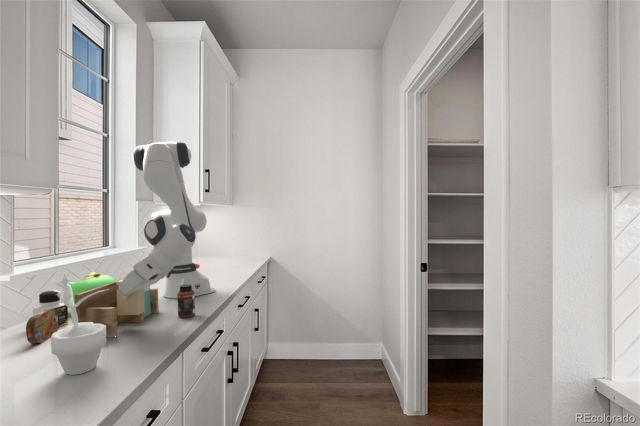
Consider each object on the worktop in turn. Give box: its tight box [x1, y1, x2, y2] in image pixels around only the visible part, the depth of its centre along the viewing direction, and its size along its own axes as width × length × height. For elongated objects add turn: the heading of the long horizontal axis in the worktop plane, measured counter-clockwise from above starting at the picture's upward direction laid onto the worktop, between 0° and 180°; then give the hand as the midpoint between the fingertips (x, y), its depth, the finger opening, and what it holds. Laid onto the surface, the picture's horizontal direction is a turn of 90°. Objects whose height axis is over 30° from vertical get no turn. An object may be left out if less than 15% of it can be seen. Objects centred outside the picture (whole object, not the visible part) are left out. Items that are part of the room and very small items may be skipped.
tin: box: [25, 308, 60, 345], centre depth 114 cm, size 15×3×8 cm, turn 12°
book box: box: [116, 278, 145, 315], centre depth 122 cm, size 7×4×11 cm, turn 87°
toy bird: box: [58, 271, 117, 305], centre depth 147 cm, size 18×17×15 cm
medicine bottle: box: [32, 289, 69, 327], centre depth 127 cm, size 7×7×12 cm
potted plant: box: [50, 273, 110, 376], centre depth 91 cm, size 13×12×25 cm
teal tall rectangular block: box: [144, 285, 152, 318], centre depth 135 cm, size 6×7×13 cm
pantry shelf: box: [75, 277, 159, 338], centre depth 126 cm, size 10×30×14 cm, turn 177°
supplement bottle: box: [176, 284, 196, 319], centre depth 134 cm, size 6×6×11 cm
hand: (128, 295), depth 122 cm, fingers closed on book box, 4 cm apart
